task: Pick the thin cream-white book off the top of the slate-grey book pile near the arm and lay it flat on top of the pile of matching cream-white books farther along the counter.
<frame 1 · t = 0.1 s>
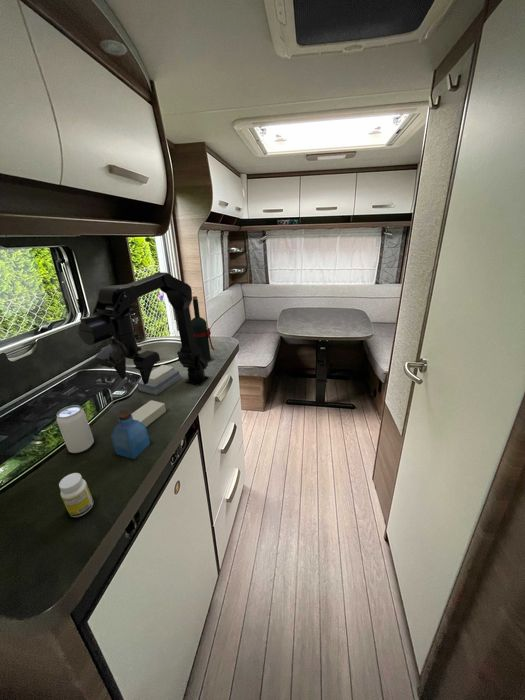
hand: (134, 381, 84), 15 cm above the worktop, tool pointing down, fingers open, 9 cm apart
grey books: (160, 384, 111), on the worktop, touching white book
perfume bottle: (133, 449, 78), on the worktop
white books: (147, 418, 91), on the worktop
white book: (159, 376, 110), point 4 cm above the worktop, touching grey books
supplement bottle: (82, 508, 61), on the worktop
wine bottle: (205, 359, 132), on the worktop
can: (81, 446, 80), on the worktop
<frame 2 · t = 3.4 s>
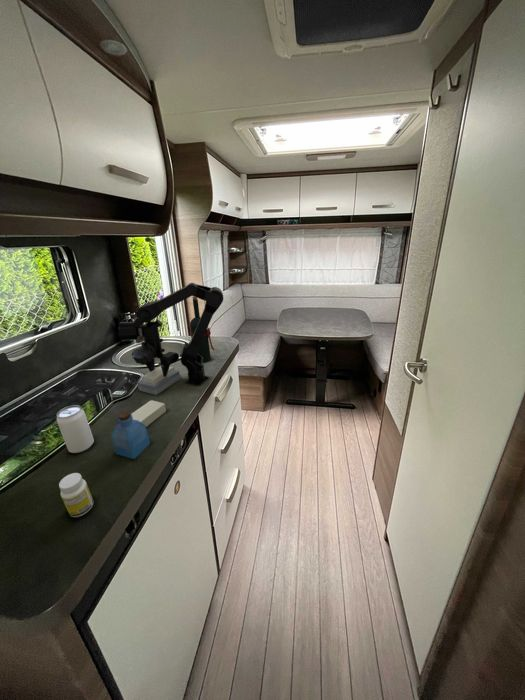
hand: (159, 375, 110), 4 cm above the worktop, tool pointing down, fingers closed on white book, 6 cm apart
white book: (159, 376, 110), point 4 cm above the worktop, touching grey books, gripper
everything else where it was.
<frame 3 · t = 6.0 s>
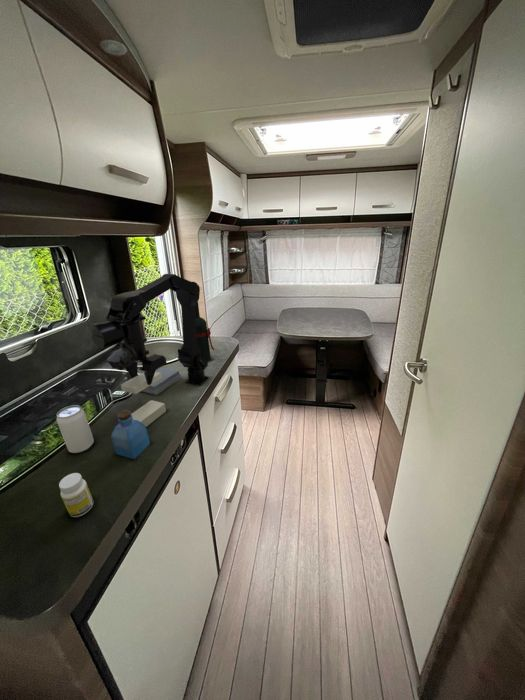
hand: (142, 382, 89), 11 cm above the worktop, tool pointing down, fingers closed on white book, 6 cm apart
grey books: (160, 384, 111), on the worktop
white book: (142, 384, 90), point 11 cm above the worktop, touching gripper
everything else where it was.
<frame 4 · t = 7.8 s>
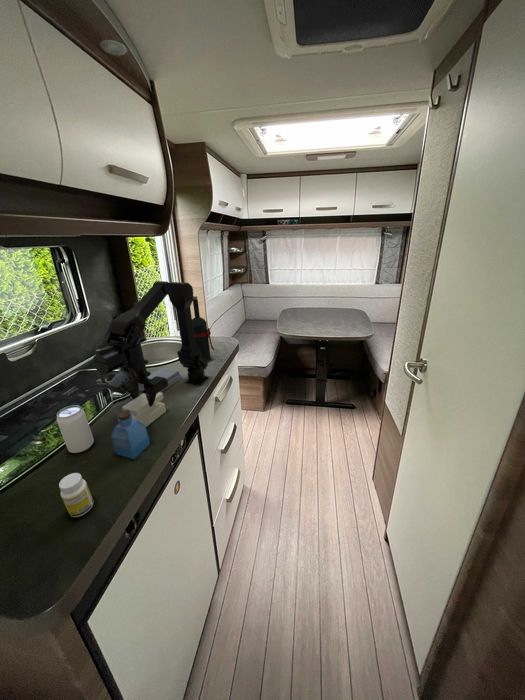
hand: (144, 403, 88), 6 cm above the worktop, tool pointing down, fingers closed on white book, 6 cm apart
white book: (144, 405, 89), point 5 cm above the worktop, touching gripper
everything else where it was.
when the fingers open (3 cm above the worktop, at t = 9.0 s): white book stays where it is, resting on white books.
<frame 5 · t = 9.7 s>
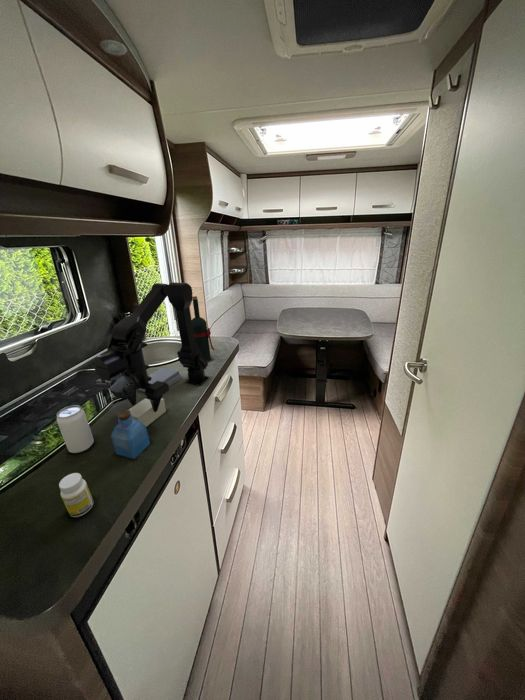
hand: (144, 408, 89), 4 cm above the worktop, tool pointing down, fingers open, 9 cm apart
white books: (147, 418, 91), on the worktop, touching white book
white book: (145, 410, 89), point 3 cm above the worktop, touching white books
everything else where it was.
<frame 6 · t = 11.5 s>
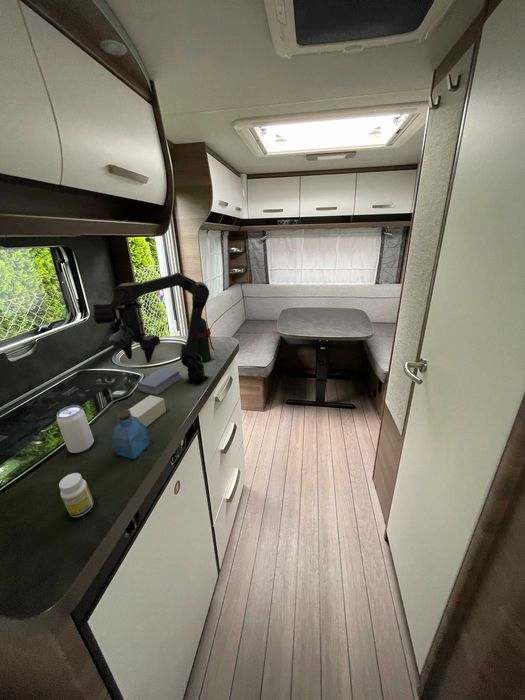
hand: (139, 360, 104), 12 cm above the worktop, tool pointing down, fingers open, 9 cm apart
nothing on the worktop moved.
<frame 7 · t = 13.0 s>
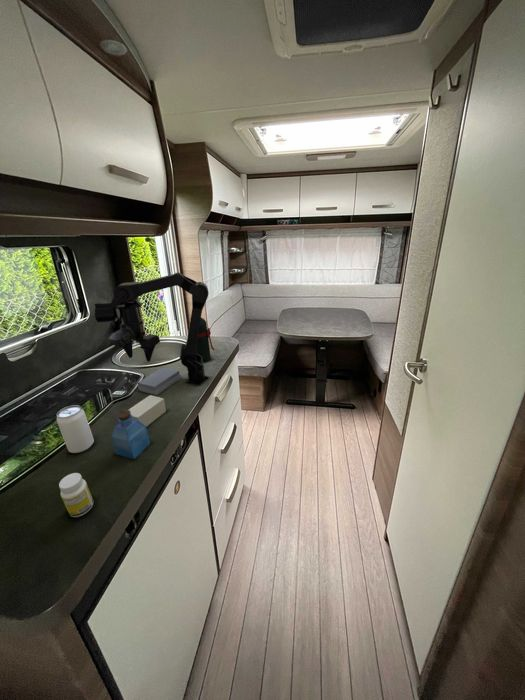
hand: (139, 359, 105), 12 cm above the worktop, tool pointing down, fingers open, 9 cm apart
nothing on the worktop moved.
at the end: white book 0.0 cm off-centre on the white books, point 3.0 cm above the white books's base; white book tilted 0°; white book touching white books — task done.
